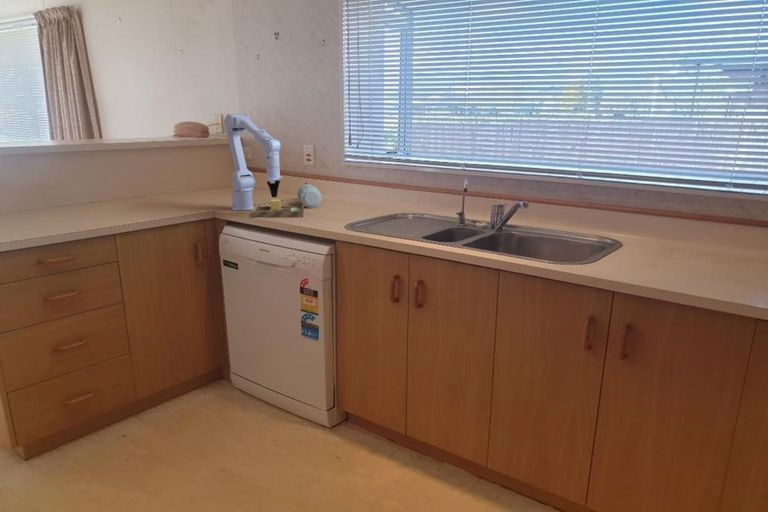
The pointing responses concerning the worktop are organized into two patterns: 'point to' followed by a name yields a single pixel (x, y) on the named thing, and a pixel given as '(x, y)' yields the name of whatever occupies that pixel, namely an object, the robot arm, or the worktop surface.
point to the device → (309, 195)
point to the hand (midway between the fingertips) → (274, 197)
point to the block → (275, 205)
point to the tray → (279, 211)
